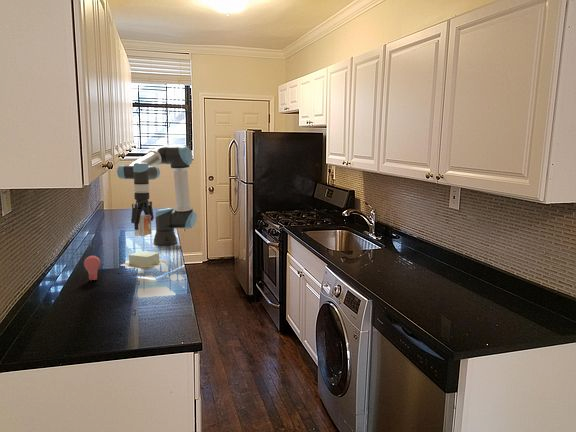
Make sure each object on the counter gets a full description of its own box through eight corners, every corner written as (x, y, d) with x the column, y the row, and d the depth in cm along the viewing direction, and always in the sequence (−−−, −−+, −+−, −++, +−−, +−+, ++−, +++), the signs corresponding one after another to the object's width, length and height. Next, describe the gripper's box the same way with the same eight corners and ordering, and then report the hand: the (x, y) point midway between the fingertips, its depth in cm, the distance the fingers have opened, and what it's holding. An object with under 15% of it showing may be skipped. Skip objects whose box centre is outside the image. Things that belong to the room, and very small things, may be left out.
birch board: (141, 259, 248) (141, 257, 248) (168, 262, 242) (168, 260, 242) (119, 267, 231) (119, 265, 231) (148, 270, 225) (148, 268, 225)
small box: (144, 236, 230) (143, 216, 228) (134, 235, 231) (133, 216, 229) (151, 233, 237) (151, 214, 236) (142, 233, 239) (141, 214, 237)
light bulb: (94, 277, 213) (93, 253, 211) (104, 279, 210) (103, 255, 208) (81, 281, 207) (80, 256, 205) (91, 283, 204) (90, 258, 202)
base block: (141, 259, 243) (140, 250, 242) (159, 261, 239) (159, 252, 239) (129, 264, 234) (128, 254, 233) (148, 266, 230) (147, 257, 229)
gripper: (148, 190, 242) (149, 230, 245) (122, 193, 222) (124, 237, 225) (159, 190, 239) (161, 231, 243) (134, 194, 220) (136, 238, 223)
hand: (143, 234), depth 234 cm, fingers closed on small box, 8 cm apart
